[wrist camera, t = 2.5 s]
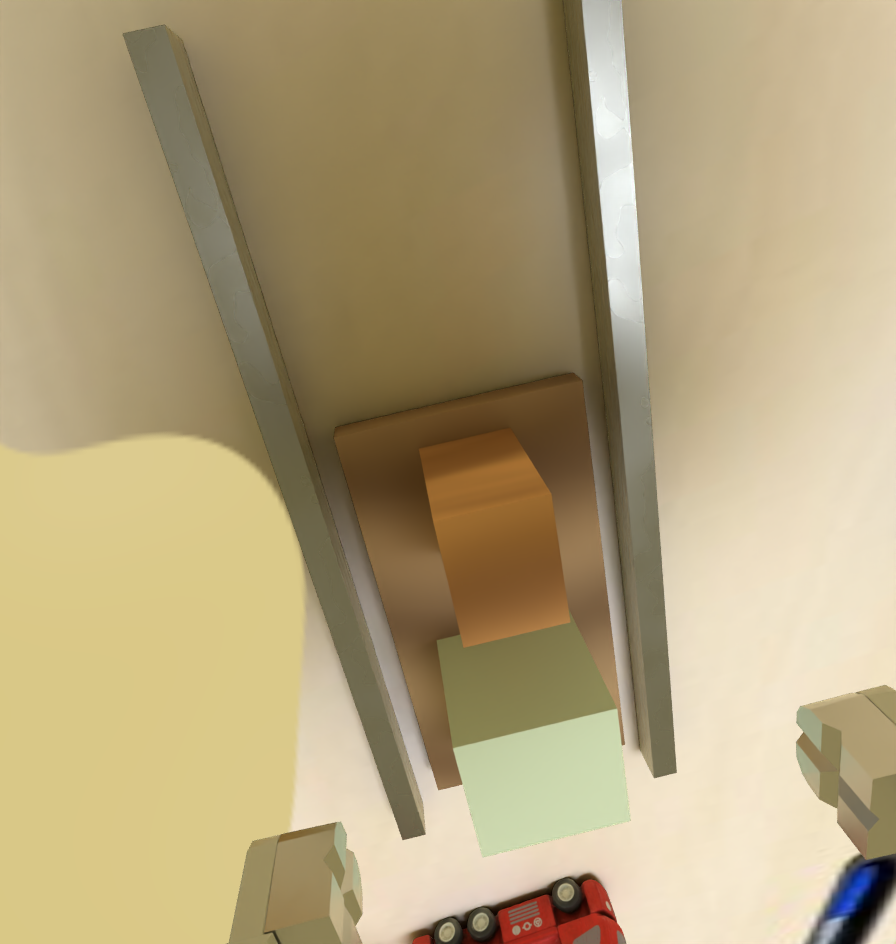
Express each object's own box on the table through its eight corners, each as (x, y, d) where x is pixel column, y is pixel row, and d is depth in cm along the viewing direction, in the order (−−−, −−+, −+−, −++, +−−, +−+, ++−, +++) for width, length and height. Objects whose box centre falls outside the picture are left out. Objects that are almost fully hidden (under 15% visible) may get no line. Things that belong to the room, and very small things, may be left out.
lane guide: (143, 48, 16) (122, 33, 15) (595, -49, 16) (616, -72, 15) (401, 808, 28) (402, 840, 27) (661, 744, 28) (676, 772, 27)
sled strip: (335, 427, 20) (322, 509, 15) (573, 372, 21) (646, 433, 15) (436, 770, 27) (452, 915, 22) (616, 726, 27) (678, 858, 22)
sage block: (436, 640, 23) (452, 748, 18) (568, 608, 23) (617, 708, 19) (462, 738, 25) (482, 857, 21) (583, 708, 25) (630, 820, 21)
